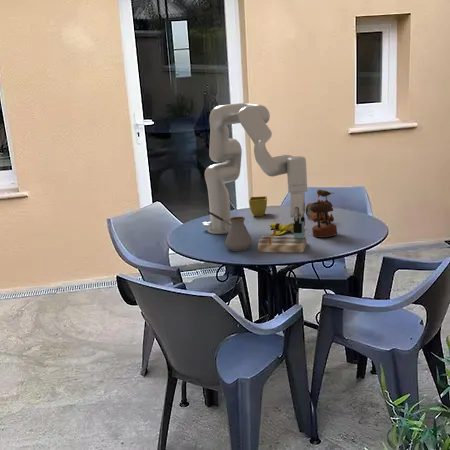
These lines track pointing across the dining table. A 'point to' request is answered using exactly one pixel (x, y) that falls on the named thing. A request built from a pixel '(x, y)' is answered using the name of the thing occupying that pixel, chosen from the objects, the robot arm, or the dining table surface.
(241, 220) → the coffee pot
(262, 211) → the flower pot
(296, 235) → the fader
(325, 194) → the music box
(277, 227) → the yellow action figure
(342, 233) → the dining table surface
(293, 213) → the robot arm
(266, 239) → the console
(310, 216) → the tin
